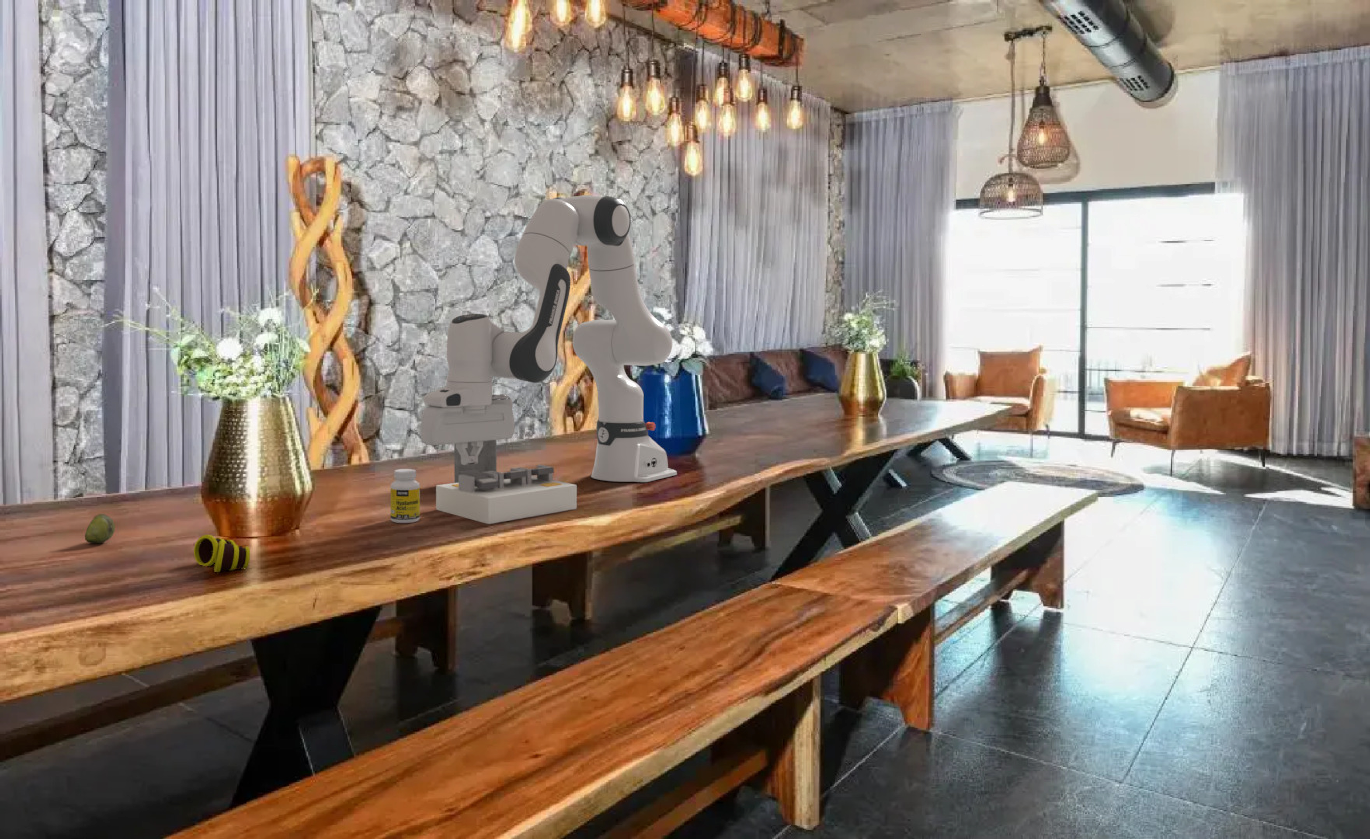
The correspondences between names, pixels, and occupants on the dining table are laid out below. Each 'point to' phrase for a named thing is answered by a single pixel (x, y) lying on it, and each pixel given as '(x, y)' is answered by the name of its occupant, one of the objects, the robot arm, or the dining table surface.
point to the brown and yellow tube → (220, 553)
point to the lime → (100, 529)
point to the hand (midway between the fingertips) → (469, 464)
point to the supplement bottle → (405, 497)
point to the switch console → (506, 497)
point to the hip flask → (485, 459)
